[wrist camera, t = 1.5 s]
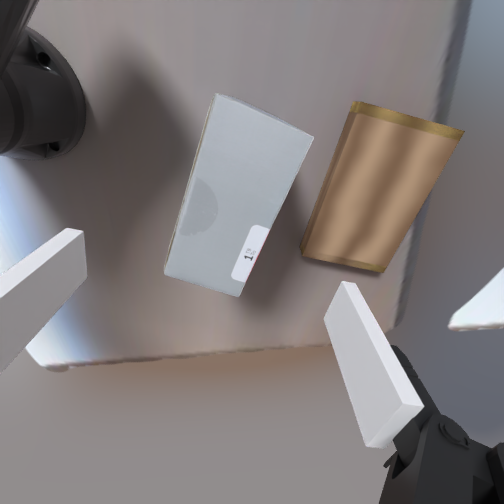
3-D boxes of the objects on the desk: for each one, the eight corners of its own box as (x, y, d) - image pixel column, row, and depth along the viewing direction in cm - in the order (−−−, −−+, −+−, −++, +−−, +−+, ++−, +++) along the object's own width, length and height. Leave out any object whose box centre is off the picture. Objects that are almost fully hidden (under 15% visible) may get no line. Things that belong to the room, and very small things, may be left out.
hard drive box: (242, 219, 43) (237, 301, 26) (196, 202, 42) (157, 276, 24) (284, 118, 36) (316, 137, 19) (230, 93, 34) (209, 89, 17)
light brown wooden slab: (299, 247, 46) (302, 256, 43) (353, 101, 35) (361, 101, 32) (376, 263, 47) (383, 272, 45) (449, 128, 37) (464, 131, 34)
